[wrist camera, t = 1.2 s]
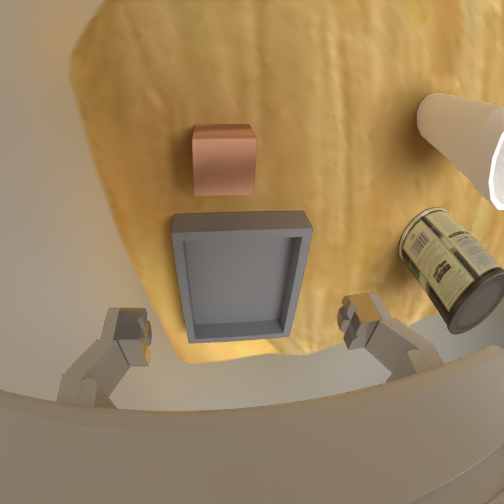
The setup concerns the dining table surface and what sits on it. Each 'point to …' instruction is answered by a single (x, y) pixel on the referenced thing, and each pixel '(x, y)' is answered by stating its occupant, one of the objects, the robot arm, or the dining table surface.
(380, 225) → the dining table surface
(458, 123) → the foam cup
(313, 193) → the dining table surface
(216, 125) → the block
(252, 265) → the tray
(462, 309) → the coffee can
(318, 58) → the dining table surface
